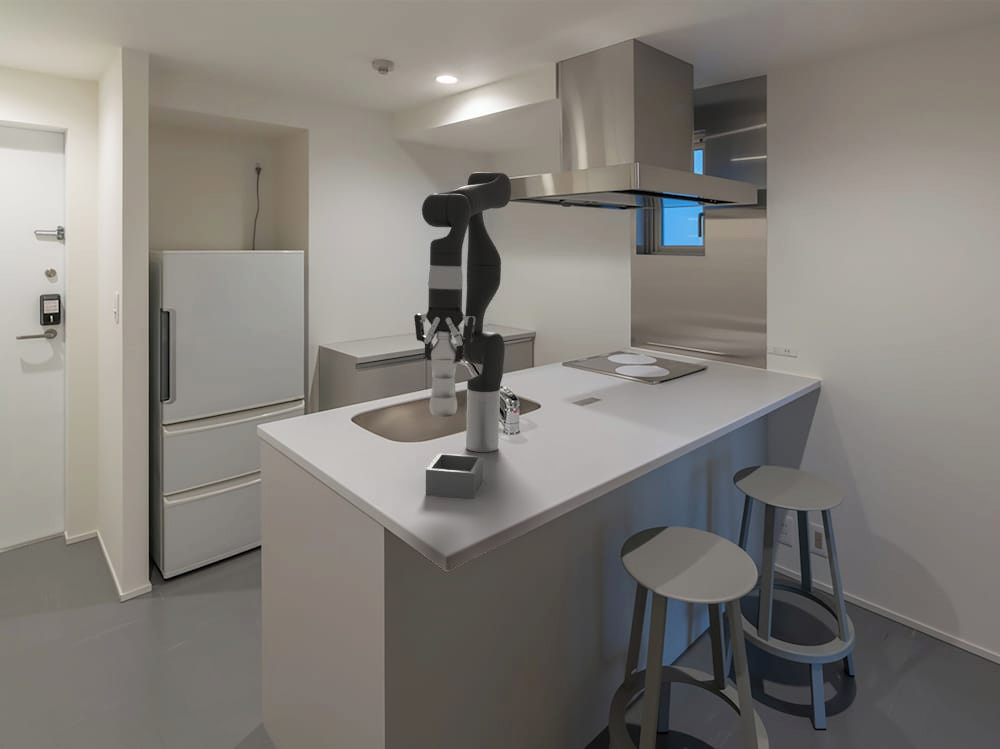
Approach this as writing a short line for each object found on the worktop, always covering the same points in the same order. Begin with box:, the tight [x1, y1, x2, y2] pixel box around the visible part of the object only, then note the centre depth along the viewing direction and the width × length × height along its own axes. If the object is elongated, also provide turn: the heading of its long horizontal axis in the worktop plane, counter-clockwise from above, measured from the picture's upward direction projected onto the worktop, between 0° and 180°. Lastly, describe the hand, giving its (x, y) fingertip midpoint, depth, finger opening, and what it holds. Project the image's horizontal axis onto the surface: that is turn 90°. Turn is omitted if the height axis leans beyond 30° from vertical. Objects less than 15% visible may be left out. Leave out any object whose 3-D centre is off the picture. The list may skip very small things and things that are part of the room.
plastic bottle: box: [429, 331, 458, 418], centre depth 136 cm, size 6×7×20 cm
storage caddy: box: [425, 452, 484, 500], centre depth 138 cm, size 12×11×6 cm
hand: (444, 360), depth 135 cm, fingers closed on plastic bottle, 6 cm apart
